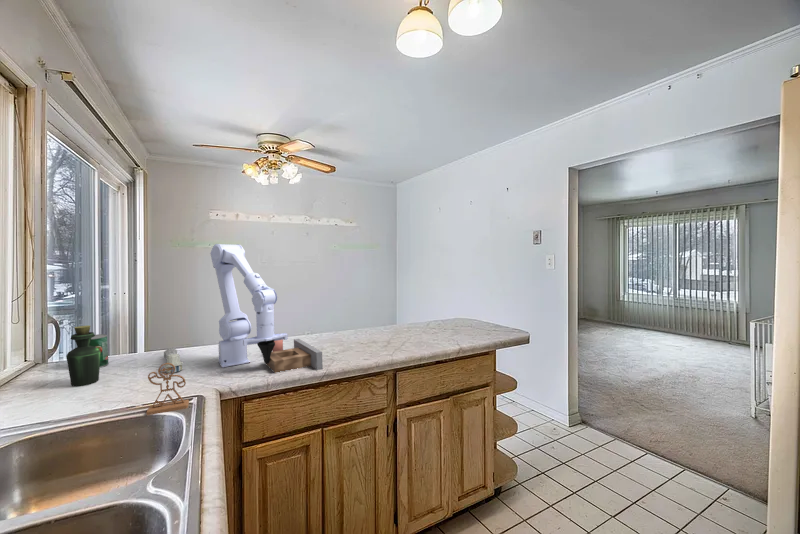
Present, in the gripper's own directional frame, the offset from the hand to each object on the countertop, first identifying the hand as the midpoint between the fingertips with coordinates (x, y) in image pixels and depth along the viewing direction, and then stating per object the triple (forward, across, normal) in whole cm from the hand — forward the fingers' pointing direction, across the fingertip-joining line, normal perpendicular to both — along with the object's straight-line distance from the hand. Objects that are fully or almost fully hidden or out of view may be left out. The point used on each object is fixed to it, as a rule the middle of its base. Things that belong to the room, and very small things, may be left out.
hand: (266, 362), depth 121 cm
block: (+2, +7, 0) cm, 8 cm away
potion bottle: (+2, -50, +22) cm, 55 cm away
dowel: (+2, +8, +15) cm, 17 cm away
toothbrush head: (+3, -27, +27) cm, 38 cm away
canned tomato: (+2, -50, +43) cm, 66 cm away
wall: (+2, +14, 0) cm, 15 cm away
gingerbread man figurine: (+2, -29, -17) cm, 34 cm away
